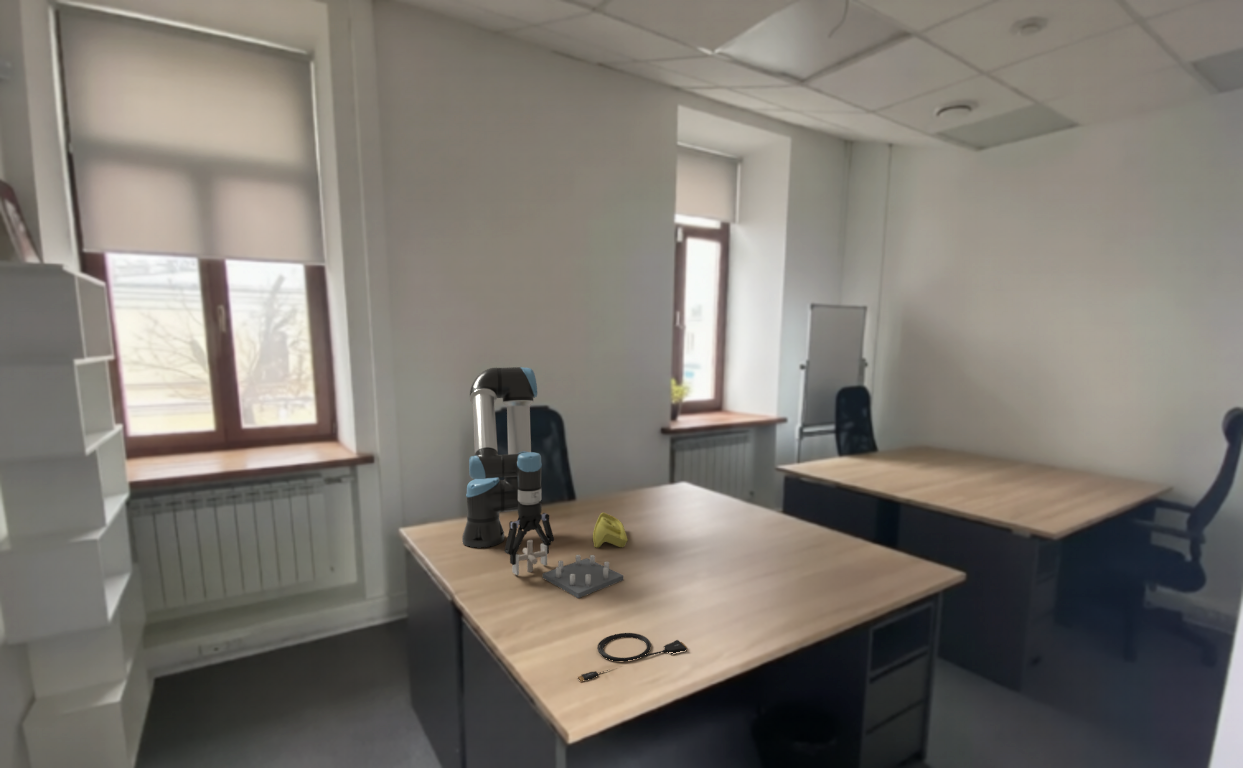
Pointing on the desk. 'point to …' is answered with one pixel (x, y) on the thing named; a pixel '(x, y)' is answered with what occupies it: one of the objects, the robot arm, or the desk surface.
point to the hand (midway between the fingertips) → (530, 568)
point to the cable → (671, 647)
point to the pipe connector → (530, 555)
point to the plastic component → (609, 531)
